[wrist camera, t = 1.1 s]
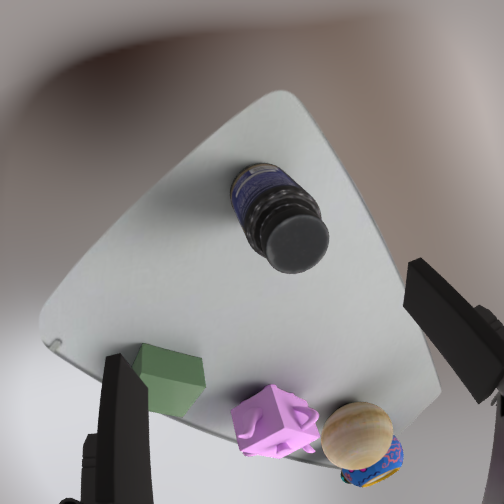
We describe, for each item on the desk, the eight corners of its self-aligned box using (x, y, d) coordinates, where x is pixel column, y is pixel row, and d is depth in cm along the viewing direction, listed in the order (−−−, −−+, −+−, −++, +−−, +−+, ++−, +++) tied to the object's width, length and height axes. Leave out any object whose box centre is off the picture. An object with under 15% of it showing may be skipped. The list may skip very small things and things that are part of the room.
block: (127, 378, 40) (125, 406, 36) (142, 342, 37) (141, 372, 33) (180, 390, 44) (182, 417, 39) (202, 358, 41) (206, 387, 36)
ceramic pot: (321, 455, 73) (338, 497, 61) (355, 424, 66) (378, 472, 53) (366, 446, 79) (383, 482, 66) (399, 415, 72) (422, 455, 59)
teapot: (318, 371, 48) (342, 424, 39) (299, 412, 55) (317, 458, 45) (226, 381, 44) (240, 443, 35) (222, 422, 51) (232, 473, 42)
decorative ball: (343, 426, 64) (366, 476, 52) (297, 426, 58) (319, 485, 45) (387, 389, 59) (417, 441, 47) (344, 385, 53) (377, 449, 40)
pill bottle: (218, 206, 30) (238, 268, 21) (247, 150, 28) (283, 188, 19) (271, 227, 33) (309, 291, 23) (300, 177, 30) (354, 224, 21)
